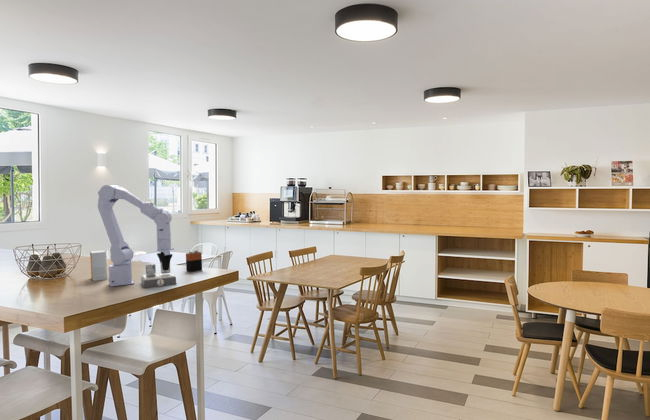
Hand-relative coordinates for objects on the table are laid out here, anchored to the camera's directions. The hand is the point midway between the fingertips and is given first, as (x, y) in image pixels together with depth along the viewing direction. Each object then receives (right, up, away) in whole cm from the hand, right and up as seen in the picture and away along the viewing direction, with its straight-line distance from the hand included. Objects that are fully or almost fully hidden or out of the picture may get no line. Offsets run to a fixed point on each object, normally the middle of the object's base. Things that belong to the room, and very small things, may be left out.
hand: (165, 269), depth 198 cm
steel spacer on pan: (-5, -3, -3) cm, 6 cm away
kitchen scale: (-3, -6, -1) cm, 7 cm away
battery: (+5, -5, +29) cm, 30 cm away
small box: (-36, -6, +14) cm, 39 cm away
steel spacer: (0, -2, 0) cm, 2 cm away
